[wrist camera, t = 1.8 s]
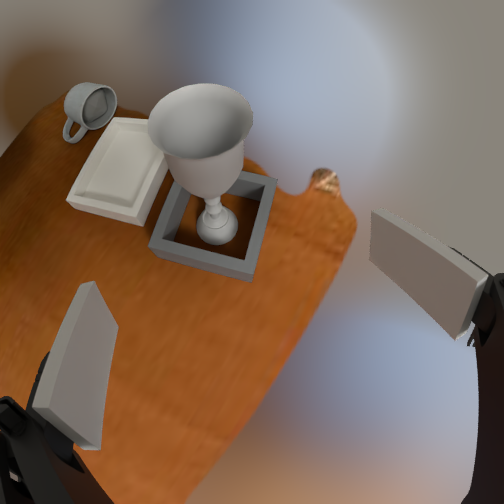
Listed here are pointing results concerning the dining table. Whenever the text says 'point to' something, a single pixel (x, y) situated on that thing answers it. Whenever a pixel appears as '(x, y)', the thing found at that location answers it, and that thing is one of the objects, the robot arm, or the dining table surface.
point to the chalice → (204, 148)
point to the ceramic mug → (88, 108)
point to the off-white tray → (121, 173)
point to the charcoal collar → (206, 260)
